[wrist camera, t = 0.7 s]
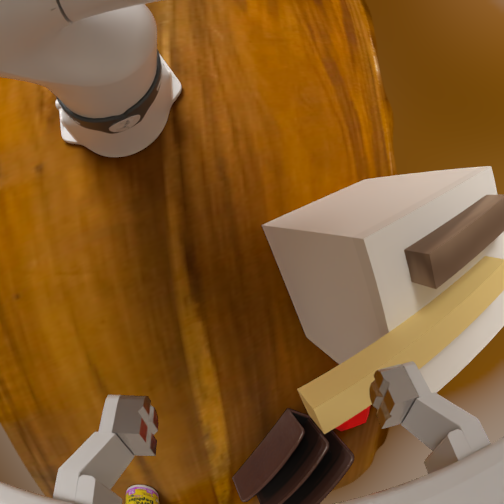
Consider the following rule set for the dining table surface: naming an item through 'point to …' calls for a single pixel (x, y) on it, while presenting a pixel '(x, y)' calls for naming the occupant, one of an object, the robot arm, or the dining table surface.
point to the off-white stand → (379, 263)
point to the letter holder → (294, 463)
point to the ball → (355, 420)
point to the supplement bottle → (141, 495)
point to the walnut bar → (455, 242)
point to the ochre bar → (403, 345)
